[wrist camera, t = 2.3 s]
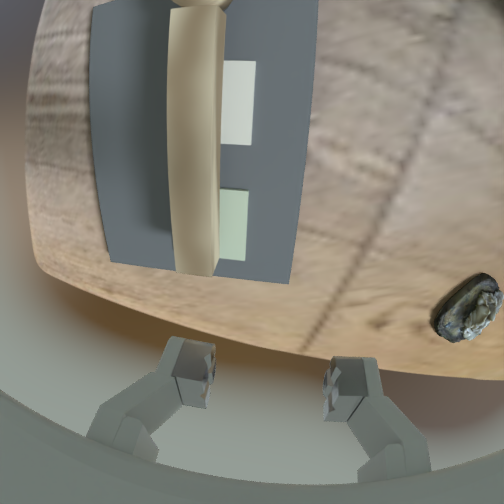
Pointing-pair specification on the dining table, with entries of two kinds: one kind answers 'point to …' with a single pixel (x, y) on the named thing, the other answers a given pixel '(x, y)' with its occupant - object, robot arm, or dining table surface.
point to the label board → (232, 132)
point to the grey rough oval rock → (469, 309)
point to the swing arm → (195, 131)
